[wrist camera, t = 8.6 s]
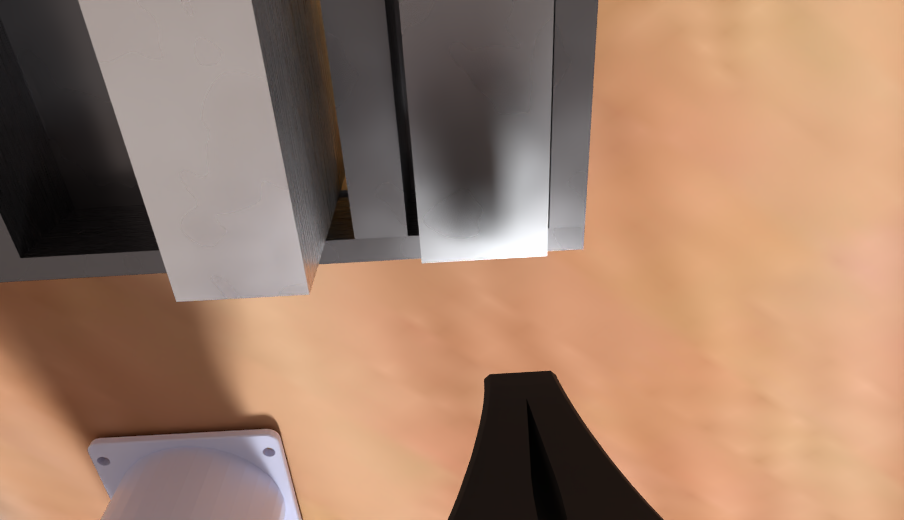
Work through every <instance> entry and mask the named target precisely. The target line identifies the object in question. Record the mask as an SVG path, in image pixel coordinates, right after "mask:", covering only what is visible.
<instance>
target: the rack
mask: <svg viewBox="0 0 904 520" xmlns="http://www.w3.org/2000/svg"><path fill="white" fill-rule="evenodd" d="M320 5H321V12H322V19H323V26H324V32H325V39H326V46H327V53H328V60H329V67H330V73H331V80H332V87H333V94H334V101H335V107H336V114H337V121H338V128H339V135H340V142H341V148H342V155H343V162H344V169H345V178H344V181H343V184H342V188H341V191H340V194H339V198H338V201H337V204H336V208H335V211H334V214H333V218H332V221H331V224H330V228H329V231H328V234H327V238H326V241H325V244H324V248H323V251H322V254H321V258H320V261H319V264H331V263H349V262H366V261H384V260H401V259H419V258H421V260H422V263H434V262H451V261H469V260H487V259H504V258H522V257H540V256H547V251H560V250H577V249H583V246H584V229H585V212H586V196H587V179H588V162H589V146H590V129H591V112H592V95H593V79H594V62H595V45H596V28H597V12H598V0H320ZM155 273H167V272H166V269H165V265H164V262H163V259H162V256H161V253H160V250H159V247H158V244H157V241H156V238H155V235H154V232H153V229H152V226H151V222H150V219H149V216H148V213H147V210H146V207H145V204H144V201H143V198H142V195H141V192H140V189H139V186H138V183H137V179H136V176H135V173H134V170H133V167H132V164H131V161H130V158H129V155H128V152H127V149H126V146H125V143H124V140H123V137H122V133H121V130H120V127H119V124H118V121H117V118H116V115H115V112H114V109H113V106H112V103H111V100H110V97H109V94H108V90H107V87H106V84H105V81H104V78H103V75H102V72H101V69H100V66H99V63H98V60H97V57H96V54H95V51H94V47H93V44H92V41H91V38H90V35H89V32H88V29H87V26H86V23H85V20H84V17H83V14H82V11H81V8H80V4H79V1H78V0H0V282H14V281H32V280H50V279H67V278H85V277H102V276H120V275H138V274H155Z"/></svg>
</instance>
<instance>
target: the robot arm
mask: <svg viewBox="0 0 904 520" xmlns="http://www.w3.org/2000/svg"><path fill="white" fill-rule="evenodd" d="M484 389H485V391H484V403H483V410H482V415H481V420H480V425H479V429H478V433H477V437H476V441H475V445H474V449H473V452H472V456H471V459H470V462H469V465H468V468H467V471H466V474H465V477H464V480H463V482H462V485H461V488H460V491H459V494H458V496H457V499H456V501H455V504H454V506H453V509H452V511H451V514H450V516H449V518H448V520H664V519H663V518H662V517H661V516H660V515H659V514H658V513H657V512H656V511H655V510H654V509H653V508H652V507H651V506H650V505H649V504H648V503H647V502H646V500H645V499H644V498H643V497H642V496H641V495H640V494H639V493H638V491H637V490H636V489H635V488H634V487H633V486H632V485H631V483H630V482H629V481H628V480H627V479H626V477H625V476H624V475H623V474H622V473H621V471H620V470H619V469H618V468H617V466H616V465H615V464H614V463H613V461H612V460H611V459H610V458H609V456H608V455H607V454H606V452H605V451H604V450H603V448H602V447H601V446H600V444H599V443H598V441H597V440H596V439H595V437H594V436H593V435H592V433H591V432H590V431H589V429H588V428H587V426H586V425H585V423H584V422H583V420H582V419H581V417H580V416H579V414H578V413H577V411H576V410H575V408H574V406H573V405H572V403H571V402H570V400H569V398H568V397H567V395H566V393H565V392H564V390H563V388H562V386H561V384H560V383H559V381H558V379H557V377H556V375H555V374H554V373H553V372H551V371H539V372H521V373H504V374H490V375H488V376H487V377H486V378H485V379H484ZM268 448H272V449H268ZM88 453H89V455H90V457H91V459H92V461H93V464H94V466H95V468H96V470H97V472H98V474H99V476H100V478H101V480H102V482H103V484H104V487H105V489H106V491H107V493H108V495H109V497H110V499H111V501H110V503H109V505H108V507H107V508H106V510H105V512H104V514H103V516H102V518H101V520H302V518H301V515H300V511H299V507H298V503H297V499H296V495H295V492H294V488H293V484H292V480H291V476H290V472H289V468H288V465H287V461H286V457H285V453H284V449H283V445H282V442H281V438H280V435H279V434H278V433H277V432H276V431H274V430H272V429H254V430H236V431H218V432H200V433H182V434H164V435H146V436H128V437H110V438H98V439H94V440H93V441H92V442H91V444H90V446H89V447H88Z"/></svg>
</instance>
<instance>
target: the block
mask: <svg viewBox="0 0 904 520" xmlns="http://www.w3.org/2000/svg"><path fill="white" fill-rule="evenodd" d="M78 1H79V4H80V8H81V11H82V14H83V17H84V20H85V23H86V26H87V29H88V32H89V35H90V38H91V41H92V44H93V47H94V51H95V54H96V57H97V60H98V63H99V66H100V69H101V72H102V75H103V78H104V81H105V84H106V87H107V90H108V94H109V97H110V100H111V103H112V106H113V109H114V112H115V115H116V118H117V121H118V124H119V127H120V130H121V133H122V137H123V140H124V143H125V146H126V149H127V152H128V155H129V158H130V161H131V164H132V167H133V170H134V173H135V176H136V179H137V183H138V186H139V189H140V192H141V195H142V198H143V201H144V204H145V207H146V210H147V213H148V216H149V219H150V222H151V226H152V229H153V232H154V235H155V238H156V241H157V244H158V247H159V250H160V253H161V256H162V259H163V262H164V265H165V269H166V272H167V275H168V278H169V281H170V284H171V287H172V290H173V293H174V296H175V299H176V302H184V301H202V300H219V299H237V298H255V297H273V296H290V295H308V294H310V291H311V287H312V284H313V281H314V277H315V274H316V271H317V267H318V264H319V261H320V258H321V254H322V251H323V248H324V244H325V241H326V238H327V234H328V231H329V228H330V224H331V221H332V218H333V214H334V211H335V208H336V204H337V201H338V198H339V194H340V191H341V188H342V184H343V181H344V178H345V169H344V162H343V155H342V148H341V142H340V135H339V128H338V121H337V114H336V107H335V101H334V94H333V87H332V80H331V73H330V67H329V60H328V53H327V46H326V39H325V32H324V26H323V19H322V12H321V5H320V0H78Z"/></svg>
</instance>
